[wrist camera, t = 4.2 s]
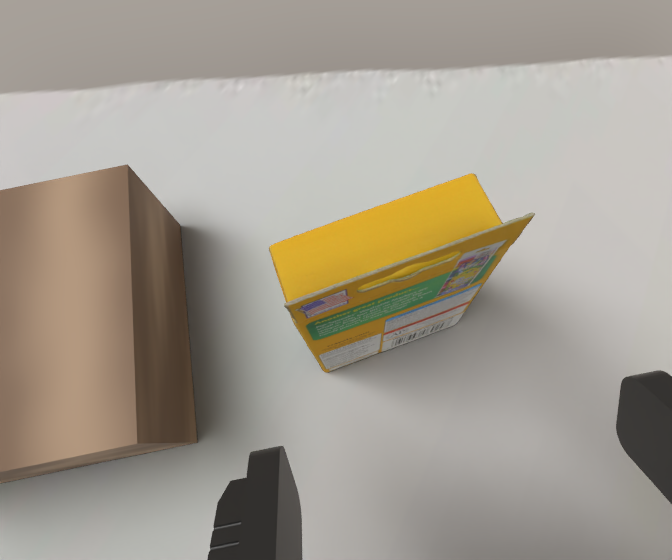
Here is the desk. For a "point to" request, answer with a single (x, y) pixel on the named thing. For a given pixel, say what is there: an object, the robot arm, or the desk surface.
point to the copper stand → (90, 325)
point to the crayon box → (392, 270)
